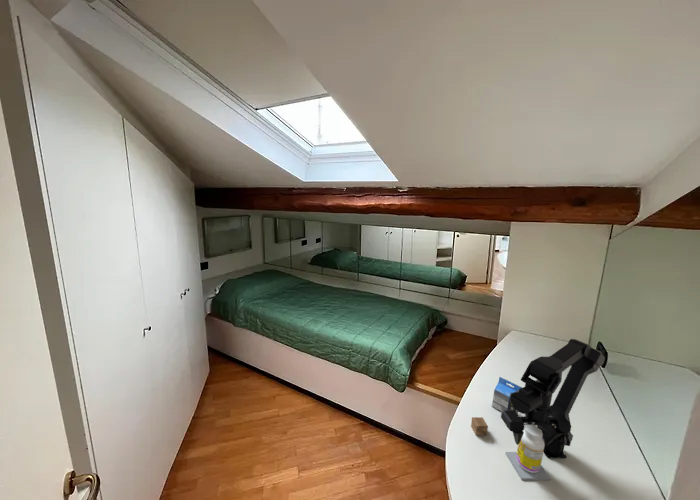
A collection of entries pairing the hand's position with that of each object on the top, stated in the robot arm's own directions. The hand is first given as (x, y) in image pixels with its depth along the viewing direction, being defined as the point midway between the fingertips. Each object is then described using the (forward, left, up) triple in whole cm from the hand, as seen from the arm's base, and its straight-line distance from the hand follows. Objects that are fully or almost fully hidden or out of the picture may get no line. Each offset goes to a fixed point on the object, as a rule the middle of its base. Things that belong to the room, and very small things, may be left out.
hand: (531, 443), depth 91 cm
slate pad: (0, 0, -9) cm, 9 cm away
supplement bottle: (0, 0, -8) cm, 8 cm away
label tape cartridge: (-6, -24, -9) cm, 26 cm away
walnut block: (+9, -14, -9) cm, 19 cm away
